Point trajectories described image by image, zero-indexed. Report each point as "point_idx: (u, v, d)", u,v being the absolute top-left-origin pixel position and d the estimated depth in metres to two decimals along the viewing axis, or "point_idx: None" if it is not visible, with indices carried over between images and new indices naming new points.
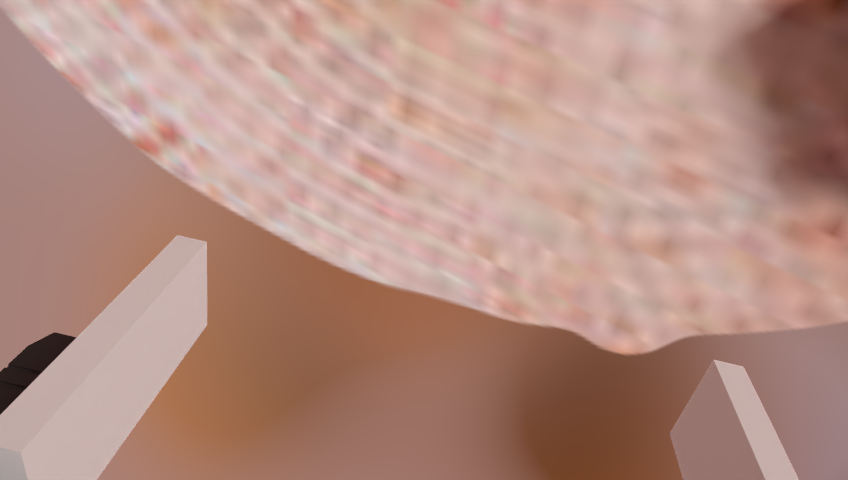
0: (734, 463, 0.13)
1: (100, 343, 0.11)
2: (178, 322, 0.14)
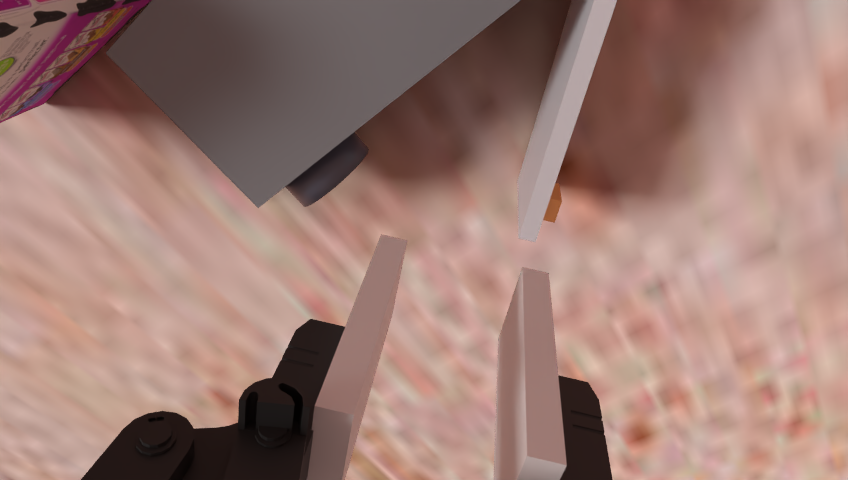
0: (516, 345, 0.15)
1: (367, 327, 0.13)
2: (389, 311, 0.16)
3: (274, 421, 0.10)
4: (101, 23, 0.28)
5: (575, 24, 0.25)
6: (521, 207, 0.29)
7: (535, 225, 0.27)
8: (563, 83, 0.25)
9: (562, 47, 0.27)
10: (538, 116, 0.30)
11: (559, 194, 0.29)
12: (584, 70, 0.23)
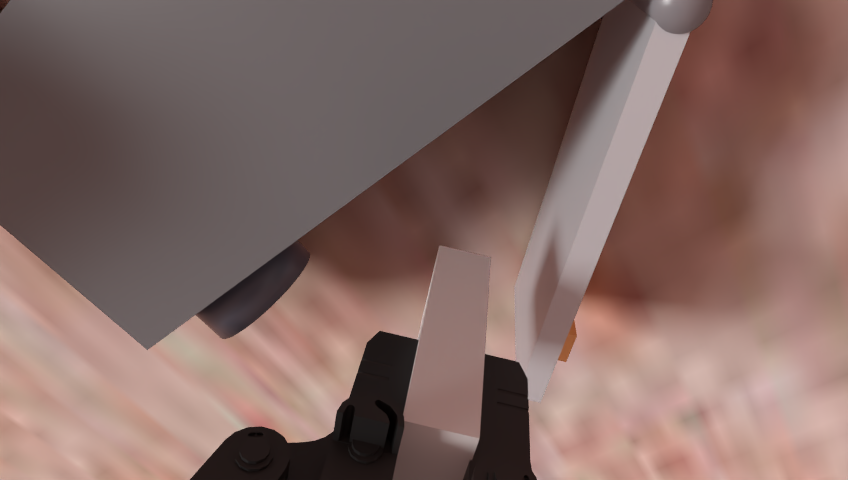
0: None
1: (441, 340, 0.13)
2: None
3: (368, 437, 0.10)
4: None
5: (599, 100, 0.17)
6: (520, 344, 0.20)
7: (540, 382, 0.19)
8: (582, 190, 0.17)
9: (577, 125, 0.19)
10: (542, 210, 0.22)
11: (572, 322, 0.21)
12: (616, 179, 0.15)
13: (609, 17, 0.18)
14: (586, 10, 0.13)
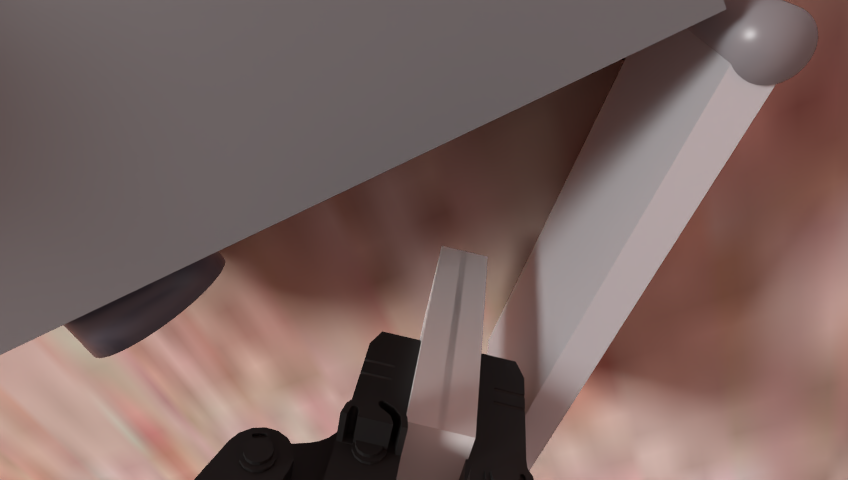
0: None
1: (444, 341, 0.13)
2: None
3: (371, 437, 0.10)
4: None
5: (625, 148, 0.13)
6: None
7: None
8: (591, 263, 0.13)
9: (589, 169, 0.15)
10: (532, 260, 0.18)
11: None
12: (642, 263, 0.11)
13: None
14: (639, 28, 0.09)
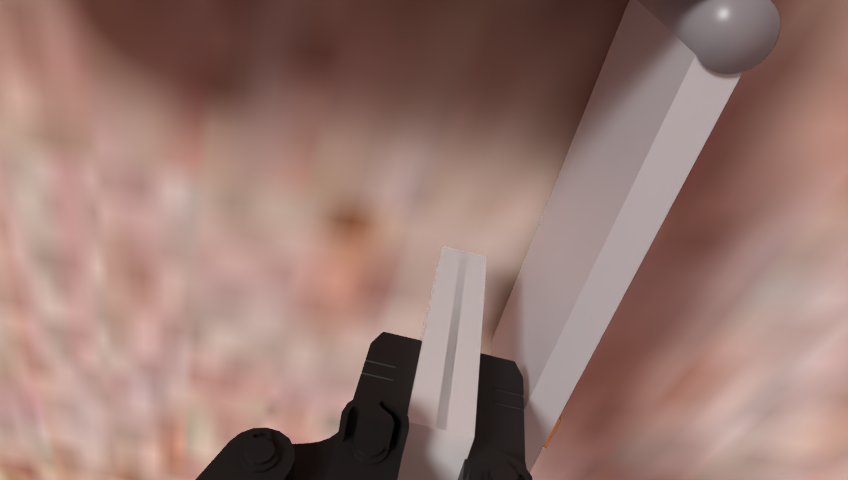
0: None
1: (445, 341, 0.13)
2: None
3: (373, 438, 0.10)
4: None
5: (606, 143, 0.13)
6: None
7: None
8: (578, 260, 0.13)
9: (577, 165, 0.15)
10: (529, 258, 0.18)
11: None
12: (624, 257, 0.11)
13: (625, 33, 0.14)
14: None
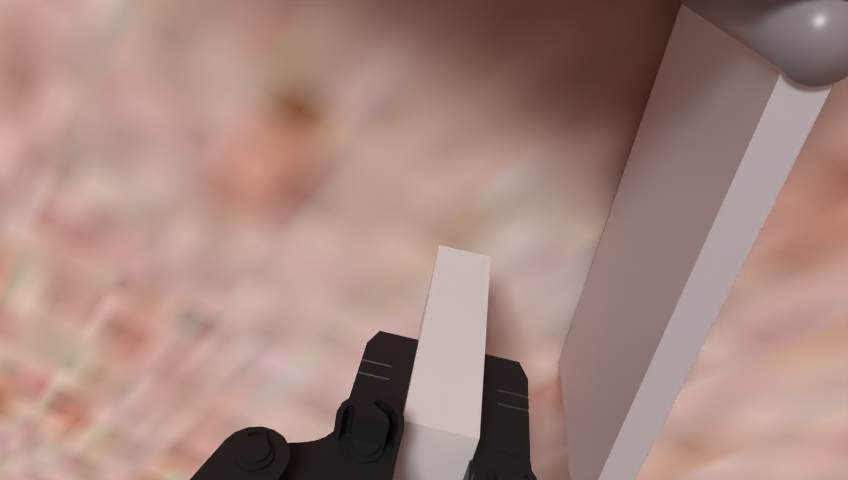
0: None
1: (441, 340, 0.13)
2: None
3: (368, 437, 0.10)
4: None
5: (676, 160, 0.13)
6: (574, 454, 0.16)
7: None
8: (660, 283, 0.12)
9: (640, 181, 0.15)
10: (593, 277, 0.18)
11: None
12: (715, 279, 0.11)
13: (680, 44, 0.14)
14: None
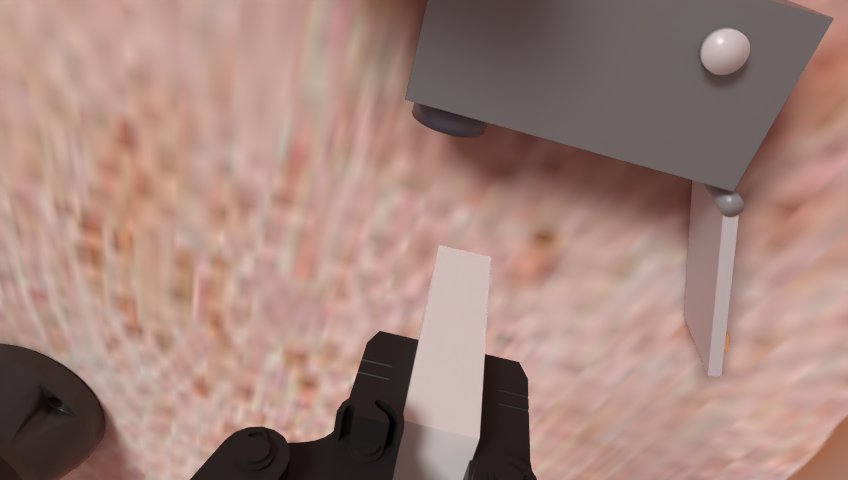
0: None
1: (441, 340, 0.13)
2: None
3: (368, 436, 0.10)
4: None
5: (705, 231, 0.36)
6: (700, 348, 0.39)
7: (718, 365, 0.37)
8: (711, 275, 0.36)
9: (696, 235, 0.38)
10: (688, 274, 0.41)
11: None
12: (726, 271, 0.34)
13: (696, 185, 0.37)
14: (714, 180, 0.31)
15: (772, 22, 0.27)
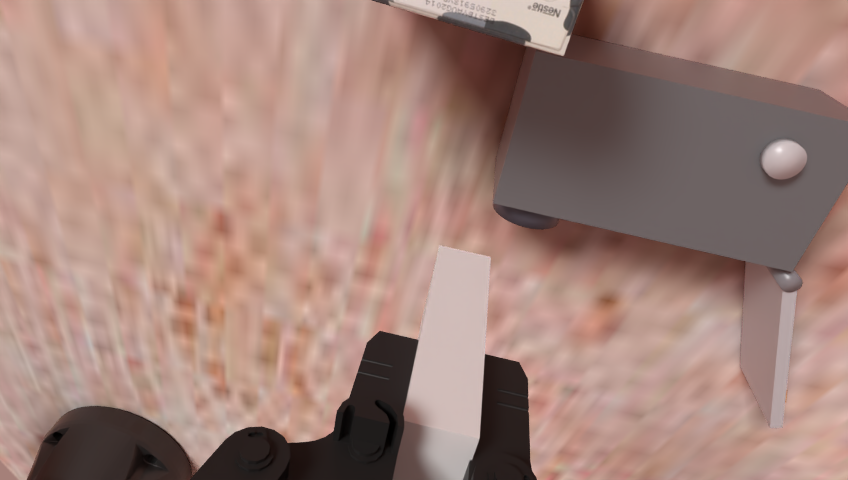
0: None
1: (441, 340, 0.13)
2: None
3: (368, 437, 0.10)
4: None
5: (763, 298, 0.39)
6: (760, 401, 0.43)
7: (779, 419, 0.41)
8: (770, 339, 0.39)
9: (752, 299, 0.42)
10: (744, 330, 0.44)
11: None
12: (786, 338, 0.38)
13: None
14: (775, 263, 0.35)
15: (826, 133, 0.31)
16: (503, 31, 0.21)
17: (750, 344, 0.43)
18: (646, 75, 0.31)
